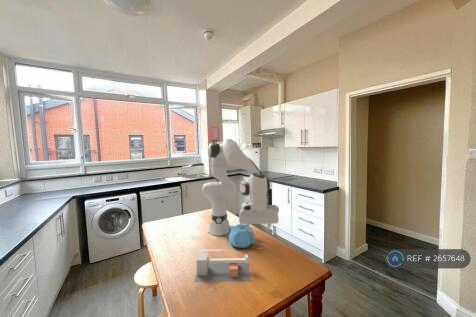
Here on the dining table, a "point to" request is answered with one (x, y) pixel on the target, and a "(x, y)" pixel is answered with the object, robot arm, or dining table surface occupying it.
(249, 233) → the decorative pot
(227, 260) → the bar
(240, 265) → the board
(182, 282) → the dining table surface
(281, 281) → the dining table surface
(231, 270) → the salmon orange rectangular block
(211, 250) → the white mat
